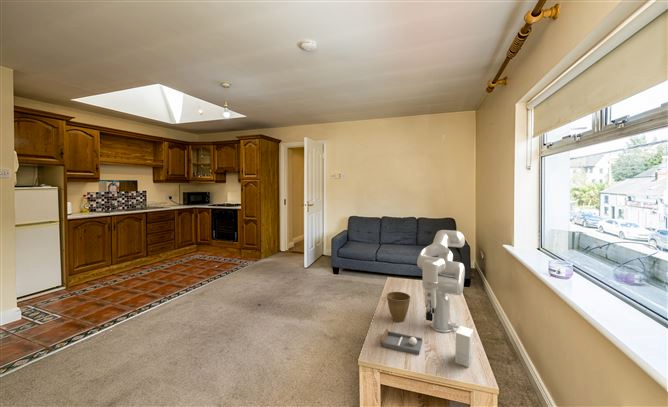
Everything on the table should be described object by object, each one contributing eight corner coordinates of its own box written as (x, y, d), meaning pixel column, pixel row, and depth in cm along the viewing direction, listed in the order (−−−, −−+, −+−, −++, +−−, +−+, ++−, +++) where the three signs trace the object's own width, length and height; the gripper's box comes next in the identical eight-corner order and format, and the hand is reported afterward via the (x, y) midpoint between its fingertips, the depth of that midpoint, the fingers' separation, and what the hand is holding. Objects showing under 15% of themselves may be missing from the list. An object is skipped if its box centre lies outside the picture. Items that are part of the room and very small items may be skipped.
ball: (417, 343, 147) (417, 336, 147) (416, 347, 143) (416, 340, 143) (409, 341, 148) (409, 334, 148) (408, 345, 145) (408, 338, 145)
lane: (422, 341, 150) (422, 335, 150) (419, 355, 138) (419, 348, 138) (386, 334, 158) (386, 328, 158) (380, 346, 147) (380, 339, 146)
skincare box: (459, 354, 138) (459, 325, 137) (473, 359, 134) (473, 329, 133) (454, 363, 132) (454, 331, 131) (469, 368, 127) (469, 336, 127)
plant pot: (411, 326, 167) (411, 301, 166) (386, 324, 170) (386, 299, 169) (409, 315, 182) (409, 292, 181) (387, 313, 185) (386, 290, 184)
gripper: (436, 290, 131) (436, 325, 132) (439, 279, 147) (439, 310, 147) (420, 288, 134) (420, 322, 135) (424, 278, 150) (424, 308, 151)
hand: (430, 316), depth 141 cm, fingers open, 9 cm apart
